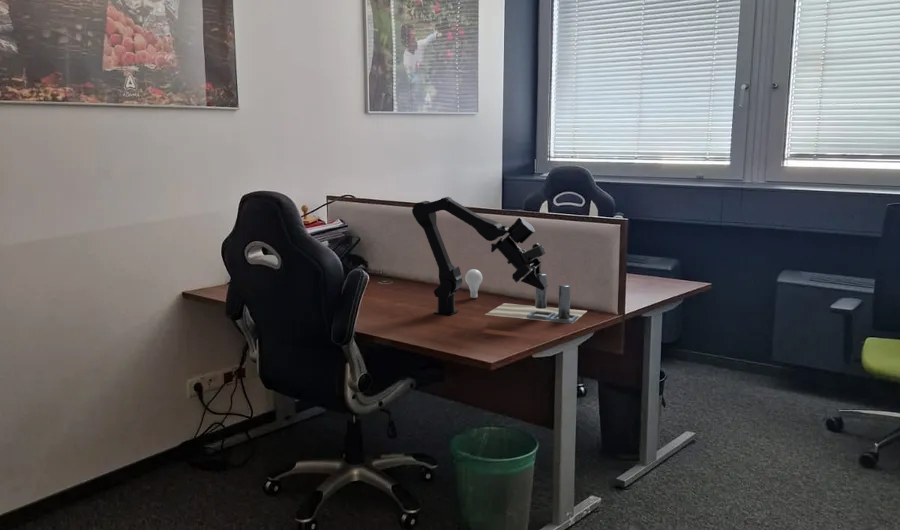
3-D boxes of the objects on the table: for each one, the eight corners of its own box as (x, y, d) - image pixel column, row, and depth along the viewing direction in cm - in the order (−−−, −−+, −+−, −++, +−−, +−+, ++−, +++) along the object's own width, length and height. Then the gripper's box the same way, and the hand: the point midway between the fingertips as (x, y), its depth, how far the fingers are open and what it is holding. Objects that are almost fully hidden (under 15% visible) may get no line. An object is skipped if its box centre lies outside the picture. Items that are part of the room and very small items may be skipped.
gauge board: (572, 327, 237) (572, 320, 236) (484, 318, 249) (484, 312, 249) (587, 314, 253) (587, 308, 252) (504, 306, 265) (504, 301, 265)
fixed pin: (567, 321, 239) (568, 287, 237) (556, 320, 241) (557, 286, 239) (571, 318, 242) (571, 285, 240) (560, 317, 244) (560, 284, 242)
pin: (542, 309, 243) (543, 275, 241) (533, 307, 245) (533, 274, 243) (548, 307, 246) (549, 274, 244) (539, 305, 248) (539, 273, 246)
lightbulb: (482, 300, 275) (482, 270, 273) (465, 300, 275) (465, 270, 274) (482, 296, 282) (482, 267, 280) (465, 296, 282) (465, 267, 280)
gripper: (522, 240, 234) (556, 277, 232) (536, 232, 251) (568, 267, 249) (498, 263, 238) (531, 300, 236) (513, 254, 255) (545, 288, 253)
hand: (545, 288), depth 244 cm, fingers closed on pin, 4 cm apart
